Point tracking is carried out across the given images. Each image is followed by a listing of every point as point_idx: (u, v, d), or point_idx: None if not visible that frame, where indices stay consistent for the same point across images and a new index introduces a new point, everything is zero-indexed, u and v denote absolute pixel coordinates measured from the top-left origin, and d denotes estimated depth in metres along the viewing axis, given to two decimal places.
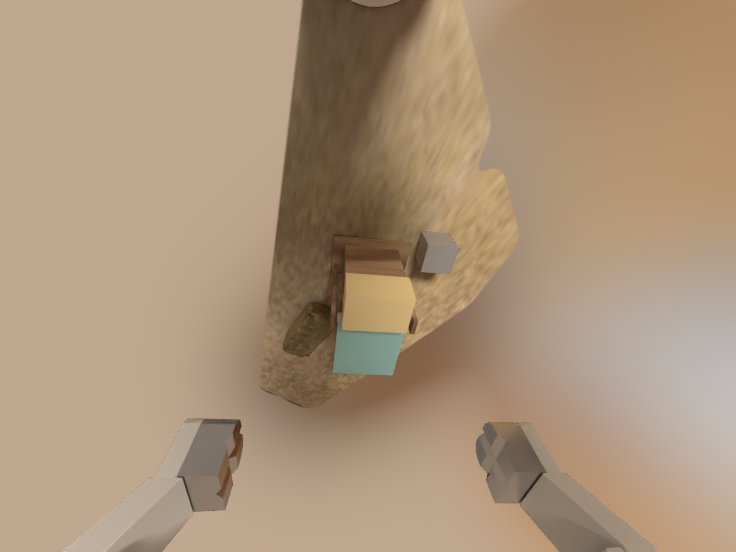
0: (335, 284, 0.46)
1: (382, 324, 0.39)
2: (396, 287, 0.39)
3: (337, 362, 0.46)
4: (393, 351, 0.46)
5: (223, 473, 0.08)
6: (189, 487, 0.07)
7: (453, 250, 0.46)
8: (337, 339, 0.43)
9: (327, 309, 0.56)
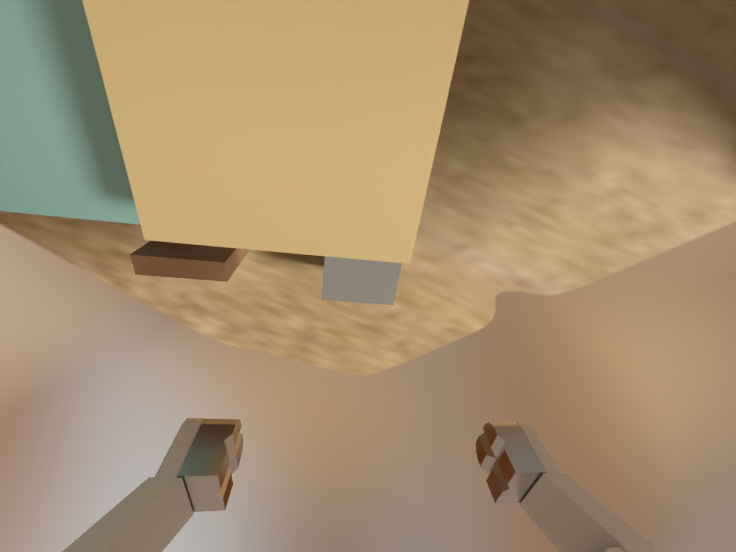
0: None
1: (185, 44, 0.05)
2: None
3: None
4: None
5: (223, 473, 0.08)
6: (189, 487, 0.07)
7: (387, 294, 0.20)
8: None
9: None
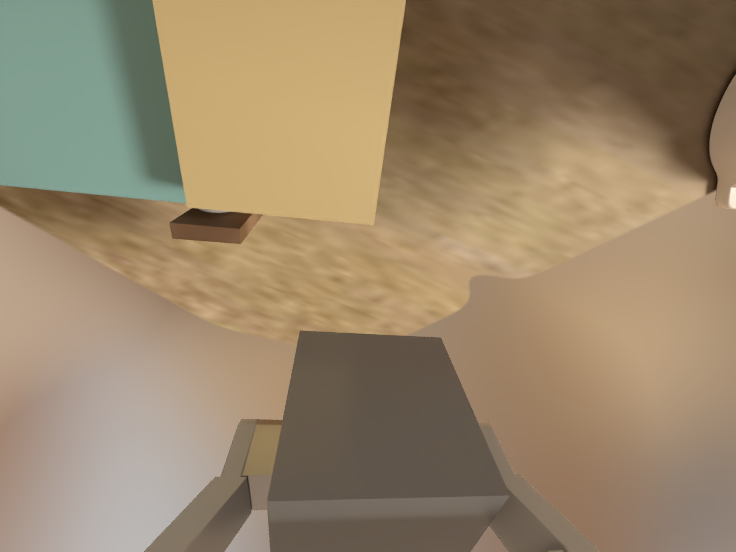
0: None
1: (223, 77, 0.08)
2: None
3: None
4: (20, 159, 0.10)
5: None
6: (252, 486, 0.08)
7: None
8: None
9: None
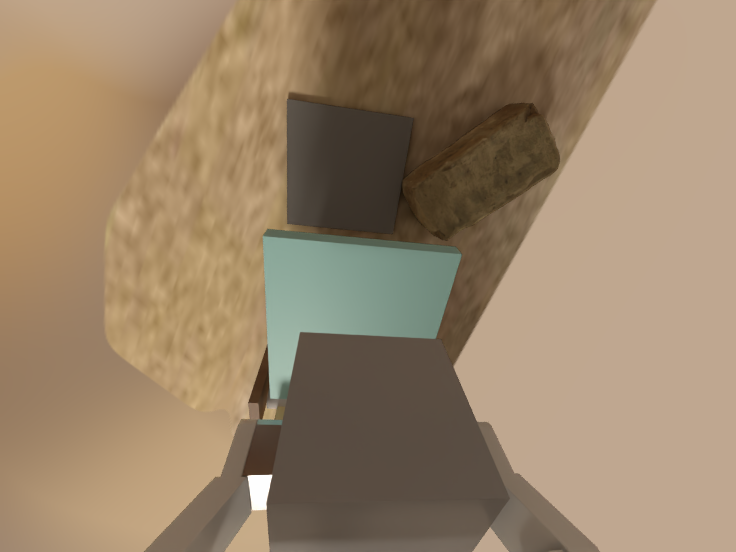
0: None
1: None
2: None
3: (437, 296, 0.16)
4: (284, 334, 0.17)
5: None
6: (252, 486, 0.08)
7: None
8: None
9: (408, 202, 0.26)
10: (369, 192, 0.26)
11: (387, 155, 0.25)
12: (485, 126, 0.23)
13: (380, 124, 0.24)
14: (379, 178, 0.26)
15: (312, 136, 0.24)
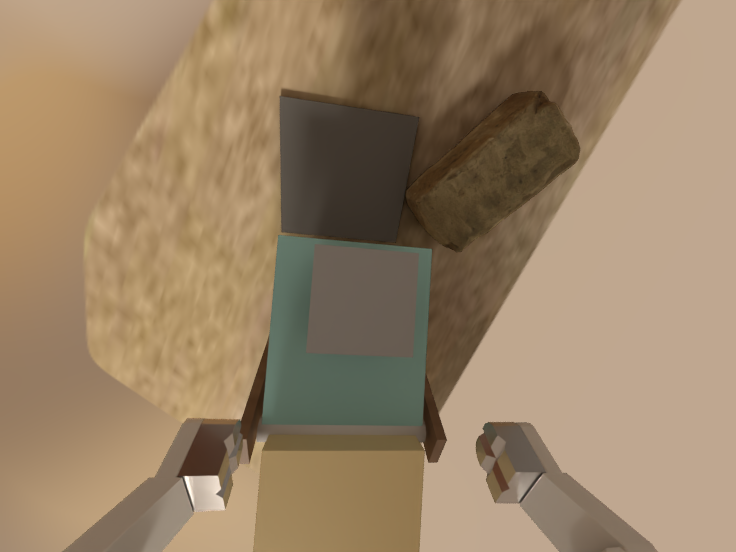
0: None
1: (328, 478, 0.16)
2: None
3: (420, 288, 0.19)
4: (286, 332, 0.18)
5: (223, 473, 0.08)
6: (189, 487, 0.07)
7: (402, 339, 0.14)
8: (422, 369, 0.19)
9: (414, 214, 0.25)
10: (370, 198, 0.24)
11: (390, 157, 0.23)
12: (490, 123, 0.20)
13: (382, 124, 0.22)
14: (381, 183, 0.24)
15: (308, 137, 0.22)
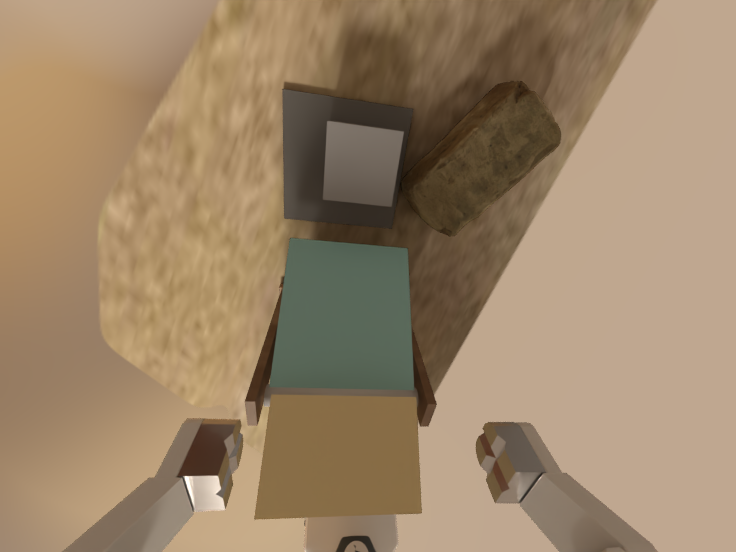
0: None
1: (330, 421, 0.17)
2: None
3: (401, 275, 0.24)
4: (293, 308, 0.22)
5: (223, 473, 0.08)
6: (189, 487, 0.07)
7: None
8: (409, 340, 0.22)
9: (410, 203, 0.26)
10: None
11: None
12: (475, 113, 0.22)
13: (379, 115, 0.23)
14: None
15: (309, 128, 0.23)
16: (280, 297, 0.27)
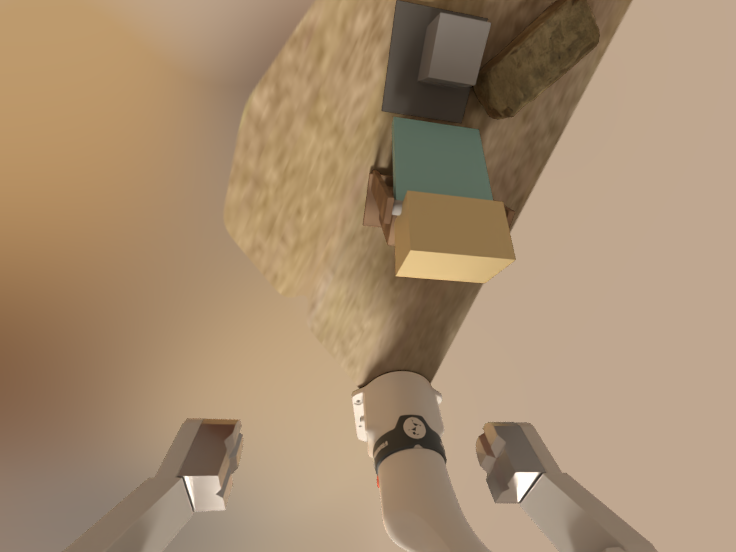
0: None
1: (448, 208, 0.25)
2: (427, 265, 0.25)
3: (476, 145, 0.32)
4: (404, 157, 0.30)
5: (223, 473, 0.08)
6: (189, 487, 0.07)
7: None
8: (488, 183, 0.30)
9: (478, 96, 0.34)
10: None
11: None
12: (539, 19, 0.30)
13: None
14: None
15: (411, 32, 0.31)
16: (376, 174, 0.36)
